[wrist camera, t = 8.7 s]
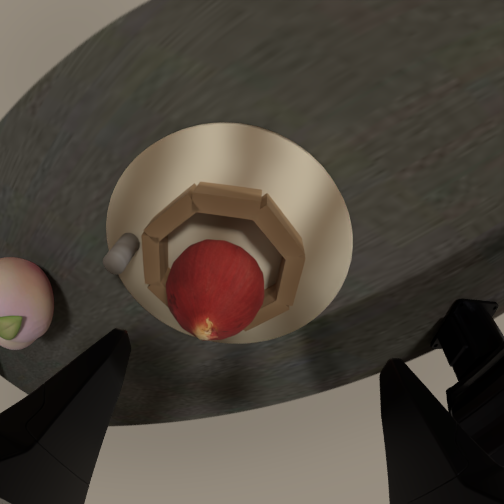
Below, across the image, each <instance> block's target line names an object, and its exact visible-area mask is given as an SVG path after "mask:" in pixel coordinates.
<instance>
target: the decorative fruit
mask: <svg viewBox="0 0 504 504" xmlns="http://www.w3.org/2000/svg"><path fill="white" fill-rule="evenodd" d="M53 312H54V295H53V290H52V286H51V284H50V281H49V279H48V278H47V276H46V274H45V273H44V272H43V270H42V269H41V268H40V267H39V266H37V265H36V264H34V263H32V262H30V261H27V260H25V259H21V258H14V257H5V258H1V259H0V345H1V346H3V347H5V348H8V349H11V350H18V349H23V348H25V347H27V346H29V345H30V344H32V343H33V342H34V341H35V339H37V338H39V337H40V336H42V335H43V334H44V333H45V332H46V331H47V330H48V328H49V326H50V324H51V321H52V318H53Z"/></svg>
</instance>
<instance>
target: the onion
mask: <svg viewBox="0 0 504 504" xmlns="http://www.w3.org/2000/svg"><path fill="white" fill-rule="evenodd" d="M166 294H167V301H168V307H169V310H170V312H171V313H172V315H173V316H174V318H175V319H176V321H177V322H178V323H179V325H180V326H181V328H183V329H184V330H185V331H187V332H189V333H190V334H192V335H193V336H195V337H198V338H199V339H200V340H222V339H225V338H228V337H231V336H234V335H236V334H238V333H240V332H241V331H242V330H243V329H245V328H246V327H247V326H248V325H249V324H250V323H251V322H252V321H253V320H254V318H255V316H256V315H257V313H258V311H259V310H260V308H261V306H262V304H263V301H264V276H263V272H262V270H261V269H260V267H259V265H258V263H257V261H256V259H255V258H254V257H253V256H251V255H250V254H249V253H248V252H247V251H245V250H244V249H243V248H242V247H240V246H238V245H235V244H233V243H231V242H228V241H225V240H212V239H205V240H203V241H200V242H197V243H195V244H192V245H190V246H189V247H188V248H186V249H185V250H184V251H183V252H182V253H181V255H179V257H178V258H177V259H176V260H175V261H174V262H173V264H172V267H171V270H170V273H169V275H168V278H167V282H166Z"/></svg>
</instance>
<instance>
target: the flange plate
mask: <svg viewBox="0 0 504 504" xmlns="http://www.w3.org/2000/svg"><path fill="white" fill-rule="evenodd" d="M106 230H107V242H108V247H109V252H108V253H107V254H106V256H105V257H104V259H103V264H104V267H105V268H106V270H107V271H109V272H110V273H112V274H115V275H119V277H120V279H121V281H122V282H123V284H124V285H125V287H126V288H127V290H128V291H129V292H130V294H131V295H132V296H133V297H134V299H135V300H136V301H137V302H138V303H139V304H140V305H141V306H142V307H143V308H144V309H146V310H147V311H148V312H149V313H151V314H152V315H153V316H154V317H156V318H157V319H159V320H160V321H162V322H163V323H165V324H166V325H168V326H170V327H172V328H174V329H176V330H178V331H180V332H183V333H185V334H188V335H190V336H193V335H192V334H190V333H189V332H187V331H185V330H184V329H183V328H181V326H180V325H179V323H178V322H177V321H176V319H175V318H174V316H173V315H172V313H171V312H170V310H169V307H168V301H167V294H166V282H167V278H168V275H169V273H170V270H171V267H172V264H173V262H174V261H175V260H176V259H177V258H178V257H179V255H181V253H182V252H183V251H184V250H185V249H186V248H188V247H189V246H190V245H192V244H195V243H197V242H200V241H203V240H205V239H212V240H225V241H228V242H231V243H233V244H235V245H238V246H240V247H242V248H243V249H244V250H245V251H247V252H248V253H249V254H250V255H251V256H253V257H254V258H255V259H256V261H257V263H258V265H259V267H260V269H261V270H262V272H263V276H264V301H263V304H262V306H261V308H260V310H259V311H258V313H257V315H256V316H255V318H254V320H253V321H252V322H251V323H250V324H249V325H248V326H247V327H246V328H245V329H243V330H242V331H241V332H240V333H238V334H236V335H234V336H231V337H228V338H225V339H222V340H208V341H213V342H220V343H233V344H244V343H255V342H261V341H266V340H271V339H274V338H277V337H281V336H283V335H286V334H288V333H291V332H293V331H295V330H297V329H299V328H301V327H302V326H304V325H306V324H307V323H309V322H310V321H311V320H313V319H314V318H316V317H317V316H318V315H319V314H320V313H321V312H322V311H323V310H324V309H325V308H326V307H327V306H328V305H329V304H330V303H331V301H332V300H333V299H334V298H335V296H336V295H337V293H338V291H339V290H340V288H341V287H342V285H343V282H344V280H345V278H346V276H347V273H348V270H349V266H350V262H351V257H352V248H353V236H352V226H351V221H350V216H349V213H348V210H347V207H346V204H345V202H344V199H343V197H342V195H341V194H340V192H339V190H338V188H337V186H336V185H335V183H334V181H333V180H332V178H331V177H330V175H329V174H328V173H327V171H326V170H325V169H324V168H323V166H322V165H321V164H320V163H319V162H318V161H317V160H316V159H315V158H314V157H313V156H312V155H311V154H310V153H309V152H307V151H306V150H305V149H303V148H302V147H300V146H299V145H298V144H296V143H295V142H293V141H291V140H289V139H288V138H286V137H284V136H282V135H280V134H278V133H276V132H273V131H270V130H267V129H264V128H261V127H258V126H253V125H248V124H243V123H230V122H217V123H206V124H200V125H196V126H192V127H188V128H184V129H182V130H179V131H177V132H175V133H172V134H170V135H168V136H166V137H164V138H162V139H161V140H159V141H158V142H156V143H154V144H153V145H151V146H149V147H148V148H147V149H146V150H144V151H143V152H142V153H141V154H140V155H138V156H137V157H136V158H135V159H134V160H133V161H132V163H131V164H130V165H129V166H128V167H127V168H126V170H125V171H124V173H123V174H122V176H121V177H120V179H119V181H118V182H117V184H116V187H115V189H114V191H113V194H112V196H111V200H110V204H109V208H108V212H107V223H106ZM193 337H195V336H193ZM197 338H198V337H197Z"/></svg>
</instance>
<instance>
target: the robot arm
mask: <svg viewBox="0 0 504 504" xmlns="http://www.w3.org/2000/svg"><path fill="white" fill-rule="evenodd" d="M497 308H498V304H497V303H496V302H490V301H480V300H470V299H459V300H458V301H457V302H456V304H455V305H454V307H453V309H452V311H451V312H450V314H449V316H448V317H447V319H446V321H445V322H444V324H443V325H442V327H441V329H440V330H439V332H438V333H437V335H436V336H435V338H434V339H433V341H432V342H431V347H432V349H443V351H444V354H445V356H446V358H447V360H448V363H449V365H450V366H452V367H453V370H454V372H455V374H456V377H457V379H458V381H459V382H457V383H456V384H455V385H454V386H452V387H450V388H448V389H447V390H446V394H447V404H448V410H449V412H448V411H447V410H446V409H445V408H444V407H443V405H442V404H441V403H440V402H439V401H438V400H437V399H436V398H435V397H434V395H433V394H432V393H431V392H430V391H429V390H428V388H427V387H426V386H425V385H424V384H423V383H422V382H421V381H420V380H419V378H418V377H417V376H416V375H415V374H414V373H413V372H412V371H411V370H410V368H409V367H408V366H407V365H406V364H405V363H404V362H403V361H402V360H401V359H399V358H391V359H389V360H388V361H387V363H386V365H385V366H384V368H383V369H382V371H381V373H380V400H381V418H382V426H383V434H384V442H385V450H386V461H387V472H388V484H389V498H390V504H504V336H503V334H502V333H501V331H500V329H499V328H498V326H497V325H496V323H495V321H494V320H493V318H492V316H493V315H494V313H495V312H496V310H497ZM130 352H131V345H130V341H129V337H128V333H127V331H126V330H123V329H119V328H115V329H113V330H112V331H111V332H109V333H108V334H107V335H105V336H104V337H103V338H101V339H100V340H99V341H97V342H96V343H95V344H93V345H92V346H91V347H90V348H88V349H87V350H86V351H84V352H83V353H82V354H81V355H79V356H78V357H77V358H75V359H74V360H73V361H71V362H70V363H69V364H68V365H66V366H65V367H64V368H62V369H61V370H60V371H59V372H57V373H56V374H55V375H54V376H52V377H51V378H50V379H48V380H47V381H46V382H45V383H44V384H42V385H41V386H39V387H38V388H37V389H36V390H34V391H33V392H32V393H30V394H29V395H28V396H26V397H25V398H23V399H22V400H20V401H19V402H17V403H16V404H14V405H13V406H11V407H10V408H8V409H6V410H5V411H3V412H2V413H0V504H84V502H85V499H86V495H87V491H88V488H89V484H90V481H91V477H92V474H93V471H94V467H95V464H96V461H97V458H98V455H99V451H100V448H101V445H102V442H103V439H104V436H105V433H106V430H107V427H108V425H109V422H110V419H111V416H112V413H113V410H114V408H115V405H116V402H117V399H118V397H119V394H120V391H121V388H122V384H123V380H124V376H125V372H126V368H127V364H128V360H129V356H130Z"/></svg>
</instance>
